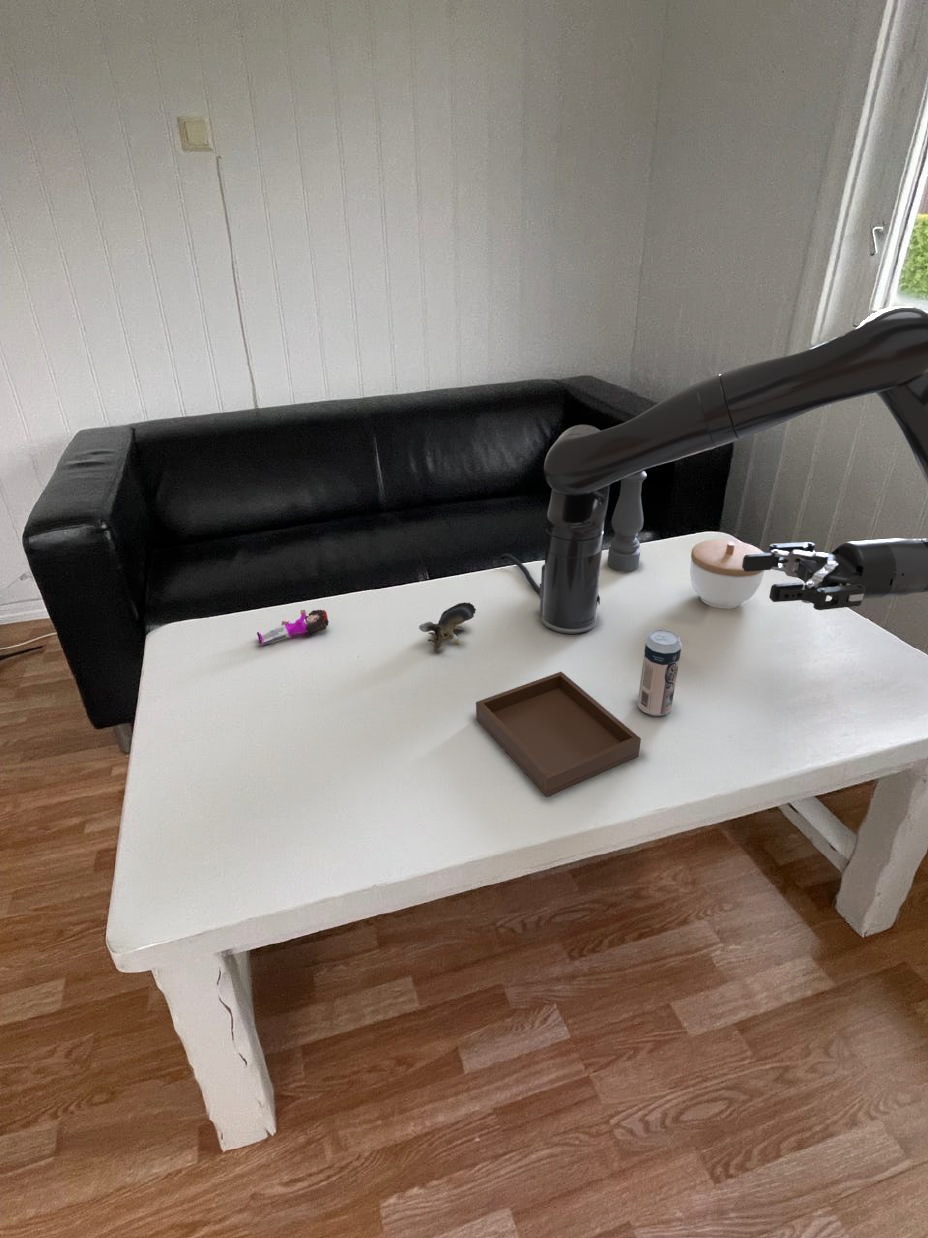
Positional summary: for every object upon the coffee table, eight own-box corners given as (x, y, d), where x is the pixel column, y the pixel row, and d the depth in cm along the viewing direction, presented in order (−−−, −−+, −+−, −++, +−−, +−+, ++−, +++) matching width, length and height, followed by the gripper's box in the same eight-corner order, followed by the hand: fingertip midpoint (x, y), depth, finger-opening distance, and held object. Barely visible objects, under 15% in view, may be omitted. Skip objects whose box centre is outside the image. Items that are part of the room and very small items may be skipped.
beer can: (672, 720, 98) (683, 648, 92) (637, 716, 99) (646, 645, 92) (670, 699, 102) (681, 629, 96) (636, 695, 103) (645, 626, 96)
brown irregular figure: (466, 653, 111) (486, 618, 117) (439, 621, 109) (461, 586, 115) (433, 664, 116) (454, 629, 122) (407, 633, 114) (429, 599, 120)
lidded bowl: (753, 586, 131) (764, 531, 125) (761, 620, 120) (775, 562, 114) (683, 580, 133) (691, 526, 128) (685, 613, 123) (695, 556, 117)
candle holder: (641, 561, 141) (656, 438, 128) (634, 574, 136) (649, 448, 123) (611, 556, 143) (623, 435, 130) (603, 568, 138) (614, 444, 125)
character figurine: (264, 656, 116) (334, 633, 119) (255, 631, 113) (326, 607, 116) (259, 640, 120) (326, 618, 123) (250, 615, 118) (319, 593, 121)
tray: (475, 718, 99) (475, 701, 97) (560, 687, 105) (561, 671, 103) (546, 797, 86) (547, 779, 84) (638, 756, 91) (641, 738, 90)
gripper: (856, 520, 95) (739, 529, 94) (922, 566, 82) (787, 576, 82) (844, 570, 99) (731, 578, 98) (905, 621, 86) (776, 631, 86)
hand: (757, 577), depth 90 cm, fingers open, 8 cm apart
